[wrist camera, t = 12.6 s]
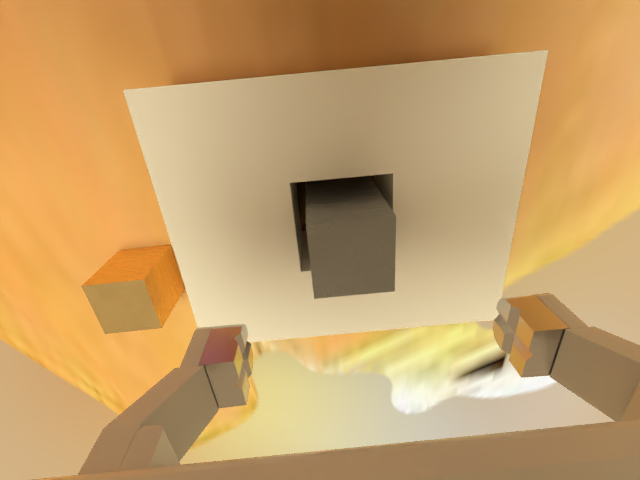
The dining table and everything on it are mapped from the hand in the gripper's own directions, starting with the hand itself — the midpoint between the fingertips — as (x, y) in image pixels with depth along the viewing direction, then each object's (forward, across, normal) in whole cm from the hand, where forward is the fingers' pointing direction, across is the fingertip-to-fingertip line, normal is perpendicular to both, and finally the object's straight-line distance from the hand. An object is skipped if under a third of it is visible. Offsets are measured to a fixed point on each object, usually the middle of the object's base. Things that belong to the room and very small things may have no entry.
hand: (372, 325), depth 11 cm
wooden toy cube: (+15, +15, +6) cm, 22 cm away
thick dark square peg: (+15, 0, +1) cm, 15 cm away
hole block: (+15, 0, +1) cm, 15 cm away
